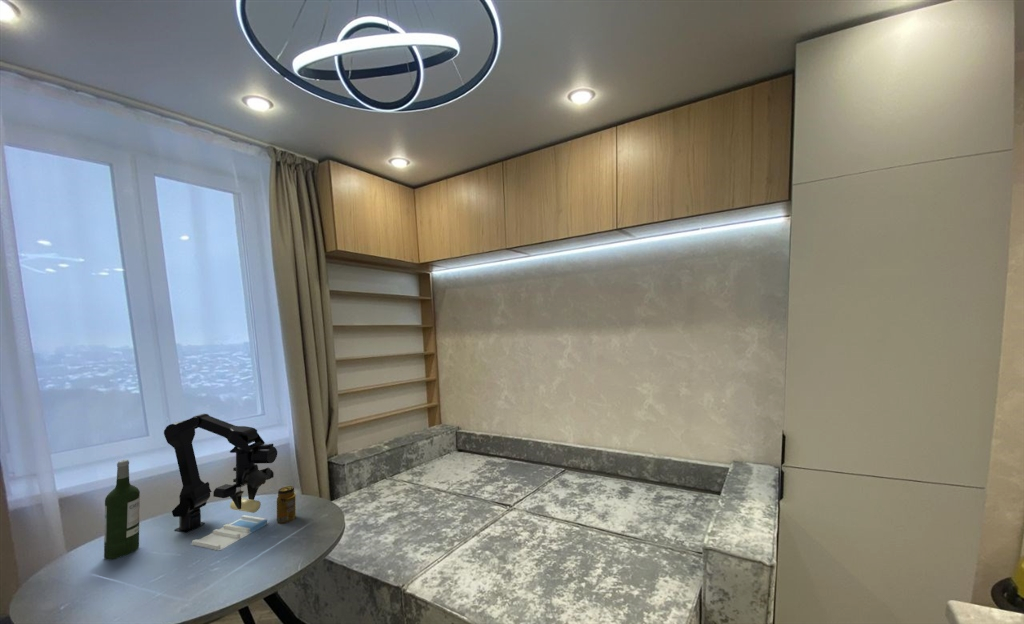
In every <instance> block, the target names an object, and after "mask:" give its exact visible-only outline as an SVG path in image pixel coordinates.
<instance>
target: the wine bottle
mask: <svg viewBox="0 0 1024 624" xmlns="http://www.w3.org/2000/svg"><path fill="white" fill-rule="evenodd" d="M129 465H130V461H129V459H123V460H120V461H117V463H116V467H117V471H116V481H115V483H116V485H115V487H114V488H113V489H112V490H111V491H110V492H109V493H108V494H107V495H106V497H105V499H104V530H103V532H104V537H103V538H104V541H103V542H104V543H103V547H104V549H103V557H104V560H107V561H112V560H116V559H118V558H123V557H125V556H127V555H130V554H131V553H133V552H135V551H137V550H138V549H139V547H140V507H141V506H140V505H141V504H140V502H141V501H140V500H141V499H140V497H141V495H140V493H141V492H140V489H139V488H138V487H137V486H135V485H133V484H131V483H130V466H129Z"/></svg>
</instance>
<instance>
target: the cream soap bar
mask: <svg viewBox="0 0 1024 624" xmlns="http://www.w3.org/2000/svg"><path fill="white" fill-rule="evenodd" d="M229 504H230V505H229V508H230V509H231V510H234V511H240V512H246V513H251V514H255V513H257V512H258V511H259V510H260V508H261V506H262V504H261V501H260V500H257V499H254V500H251V499H249V498H244V497H241V509H238V508H237V507H236V505H235V503H234V502H233V500H232V501H231V502H230V503H229Z"/></svg>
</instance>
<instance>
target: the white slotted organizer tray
mask: <svg viewBox="0 0 1024 624" xmlns="http://www.w3.org/2000/svg"><path fill="white" fill-rule="evenodd" d="M269 523H270V522H268V518H263V517H258V516H252V515H243V514H242V515H241V518H239V519H237V520H235V521H234V522H231V523H229V524H228V523H226V524H223V527H221V528H219V529H217V528H215V529H214V530H212V532H211V533H209V534H208V535H205V536H203V537H202V538H199V539H197V538H196V539H193V540H192V541H191V543H190V545H192V546H196V547H200V548H205V549H210V550H215V551H221V550H224V549H225V548H227V547H229V546H230V545H232V544H234V543H236V542H238V541H240V540H241V539H243V538H245V537H247V536H248V535H251V534H252V533H254V532H255V531H257V530H260V529H261V528H263V527H264V526H266V525H268V524H269Z"/></svg>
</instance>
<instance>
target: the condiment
mask: <svg viewBox="0 0 1024 624" xmlns="http://www.w3.org/2000/svg"><path fill="white" fill-rule="evenodd" d="M296 511H297V510H296V493H295V487H294V486H292V485H287V486H283V487H281V488H279V489H278V492H277V498H276V522H277V524H279V525H283V524H287V523H291V522H292V521H294V520H295V518H296V514H297V513H296Z"/></svg>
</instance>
